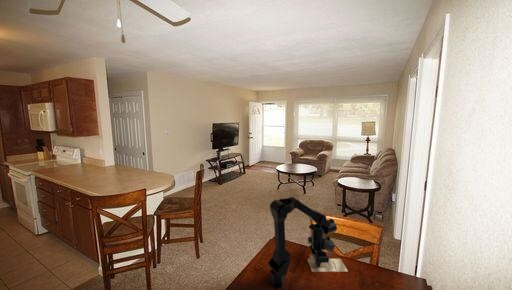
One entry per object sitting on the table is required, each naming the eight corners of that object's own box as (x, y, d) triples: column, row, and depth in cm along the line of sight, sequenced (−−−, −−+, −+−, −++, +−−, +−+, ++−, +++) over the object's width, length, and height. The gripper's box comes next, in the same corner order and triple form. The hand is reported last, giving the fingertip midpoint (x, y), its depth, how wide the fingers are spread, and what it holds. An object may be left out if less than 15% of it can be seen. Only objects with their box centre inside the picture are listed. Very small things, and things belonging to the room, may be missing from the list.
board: (311, 273, 109) (312, 271, 109) (307, 260, 119) (307, 258, 119) (347, 273, 109) (348, 271, 109) (340, 260, 119) (340, 258, 119)
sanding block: (311, 267, 112) (311, 259, 111) (309, 262, 116) (309, 254, 115) (325, 267, 112) (325, 259, 111) (322, 262, 116) (322, 254, 115)
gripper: (340, 246, 102) (339, 276, 104) (327, 226, 121) (327, 252, 123) (316, 246, 103) (316, 276, 104) (307, 226, 121) (307, 252, 123)
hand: (317, 263), depth 114 cm, fingers closed on sanding block, 4 cm apart
